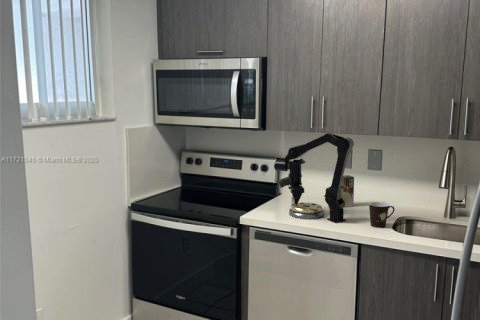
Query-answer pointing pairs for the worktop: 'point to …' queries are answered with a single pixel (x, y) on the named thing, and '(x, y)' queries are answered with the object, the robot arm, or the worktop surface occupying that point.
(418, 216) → the worktop surface
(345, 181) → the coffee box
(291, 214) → the housing
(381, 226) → the coffee mug
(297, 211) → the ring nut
